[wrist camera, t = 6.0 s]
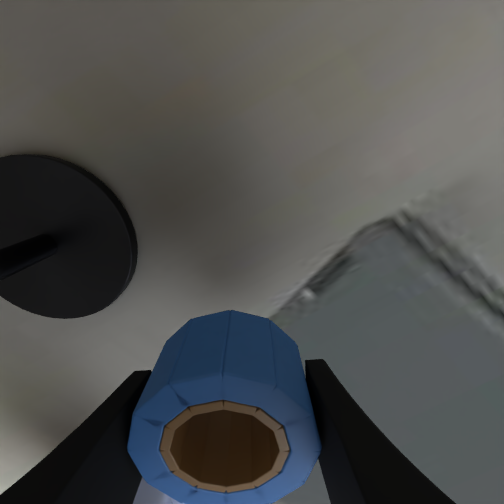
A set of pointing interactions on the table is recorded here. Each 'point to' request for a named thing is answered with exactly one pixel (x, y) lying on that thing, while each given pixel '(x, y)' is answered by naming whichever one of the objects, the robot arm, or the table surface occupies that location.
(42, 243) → the spindle stand
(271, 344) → the tape roll
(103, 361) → the table surface
